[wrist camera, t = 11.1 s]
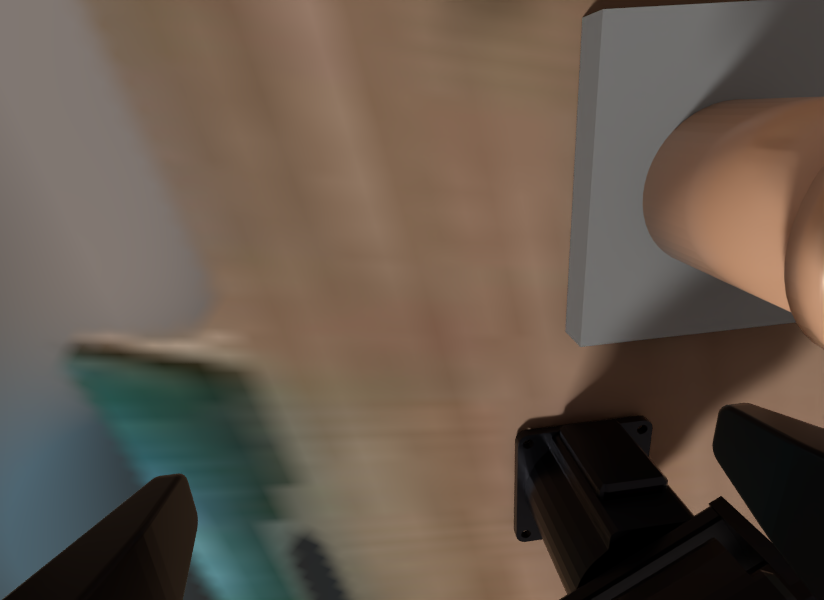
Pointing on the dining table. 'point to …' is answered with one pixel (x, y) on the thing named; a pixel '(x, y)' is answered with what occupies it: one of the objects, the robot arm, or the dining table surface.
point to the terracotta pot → (747, 200)
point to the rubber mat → (643, 136)
